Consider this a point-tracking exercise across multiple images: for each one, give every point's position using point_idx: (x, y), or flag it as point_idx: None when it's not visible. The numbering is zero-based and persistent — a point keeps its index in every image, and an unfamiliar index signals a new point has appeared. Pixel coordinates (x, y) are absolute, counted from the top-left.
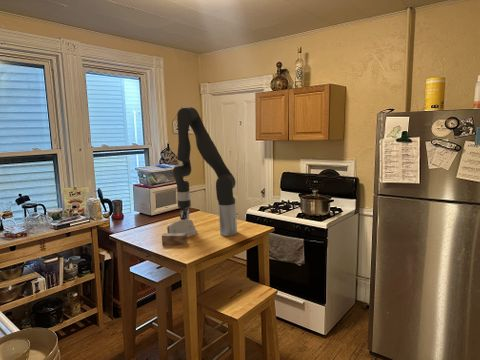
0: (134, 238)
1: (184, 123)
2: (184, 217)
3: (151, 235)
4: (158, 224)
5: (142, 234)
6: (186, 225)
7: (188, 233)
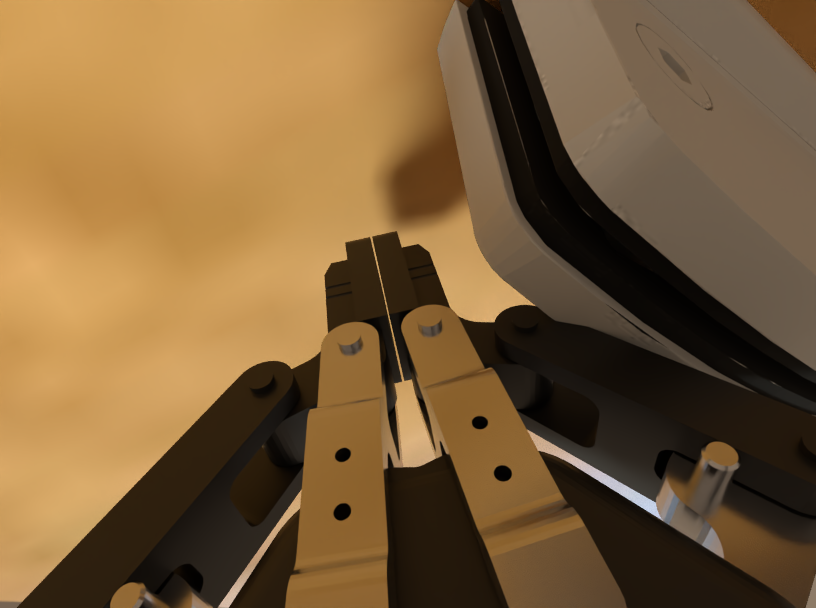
0: (653, 514)
1: None
2: (723, 395)
3: (592, 467)
4: (237, 585)
5: None
6: (762, 157)
7: (754, 13)
